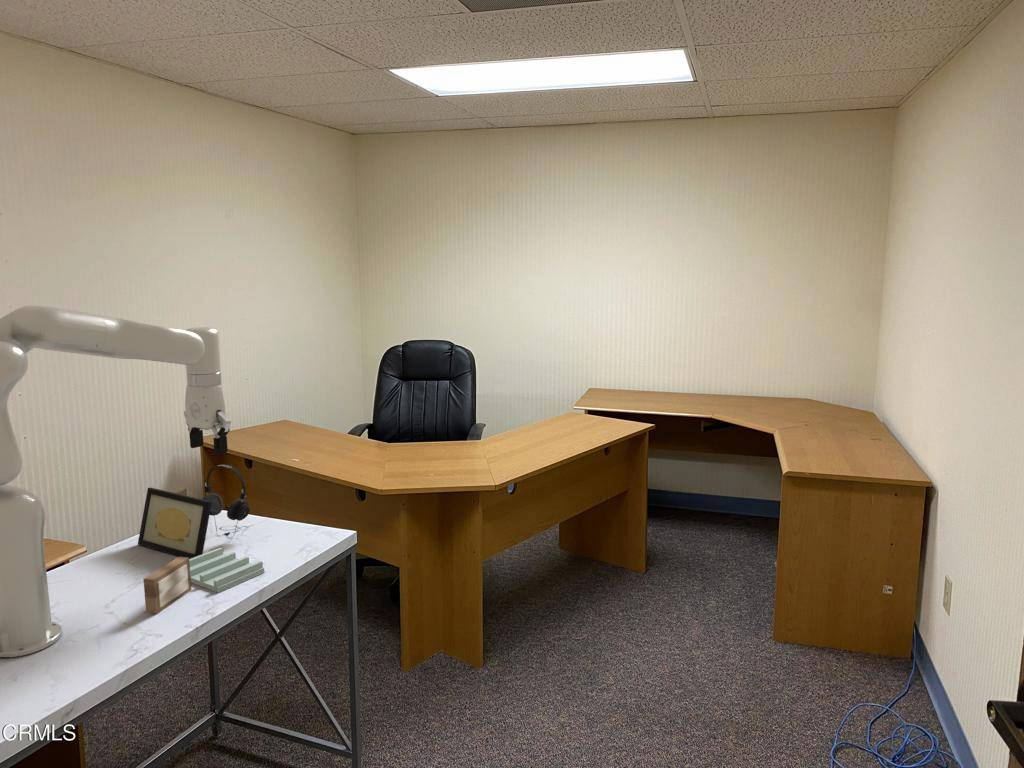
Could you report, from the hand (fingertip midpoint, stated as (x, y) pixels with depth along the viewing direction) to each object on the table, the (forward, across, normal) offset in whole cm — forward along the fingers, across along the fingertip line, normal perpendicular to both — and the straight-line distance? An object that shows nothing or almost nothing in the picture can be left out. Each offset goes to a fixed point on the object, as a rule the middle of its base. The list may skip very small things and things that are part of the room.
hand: (208, 450), depth 177 cm
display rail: (+30, +4, -2) cm, 30 cm away
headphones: (+30, -16, +16) cm, 37 cm away
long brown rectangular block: (+30, +8, -17) cm, 35 cm away
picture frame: (+30, -18, +2) cm, 35 cm away
